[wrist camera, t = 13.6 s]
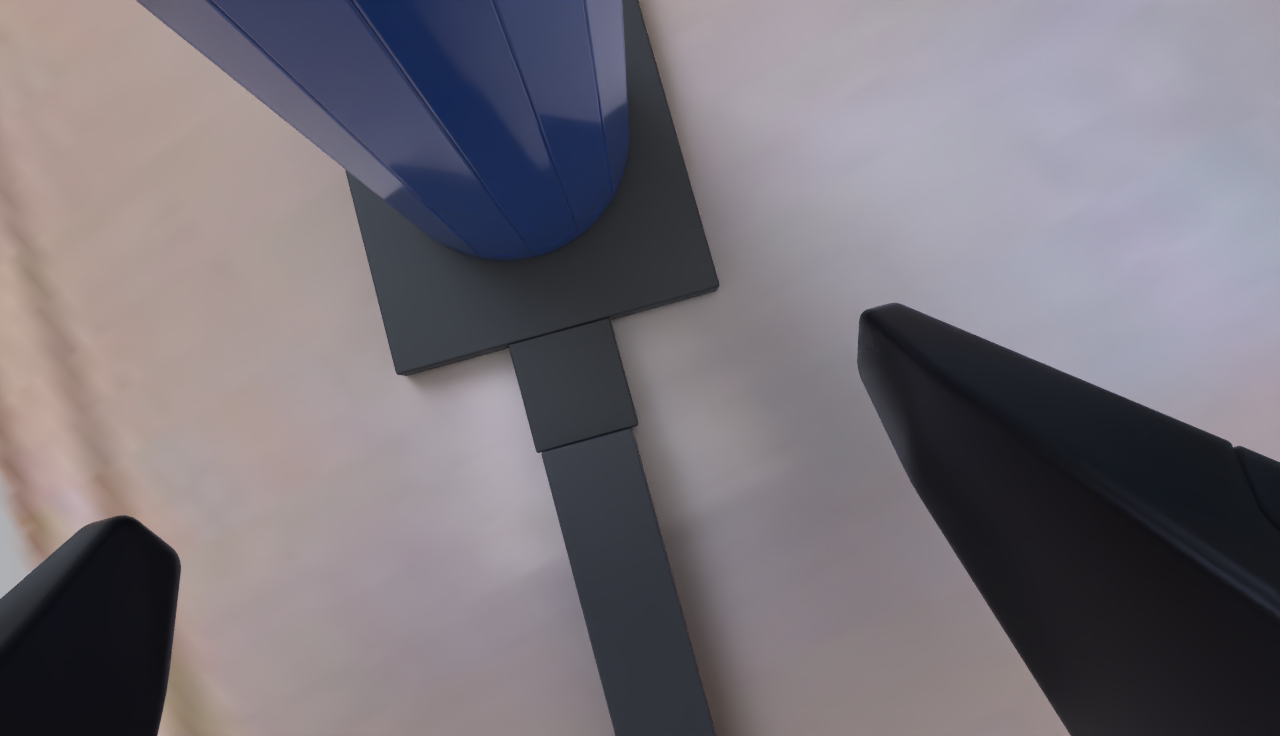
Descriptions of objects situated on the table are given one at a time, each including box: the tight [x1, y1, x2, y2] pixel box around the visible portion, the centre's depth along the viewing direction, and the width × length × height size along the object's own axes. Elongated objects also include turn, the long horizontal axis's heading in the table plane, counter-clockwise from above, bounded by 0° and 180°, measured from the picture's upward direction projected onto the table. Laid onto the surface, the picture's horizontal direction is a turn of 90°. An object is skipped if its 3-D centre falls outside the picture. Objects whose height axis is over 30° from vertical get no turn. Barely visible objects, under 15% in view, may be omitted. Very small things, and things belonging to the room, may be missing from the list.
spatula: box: [345, 0, 719, 736], centre depth 17 cm, size 26×9×1 cm, turn 15°
